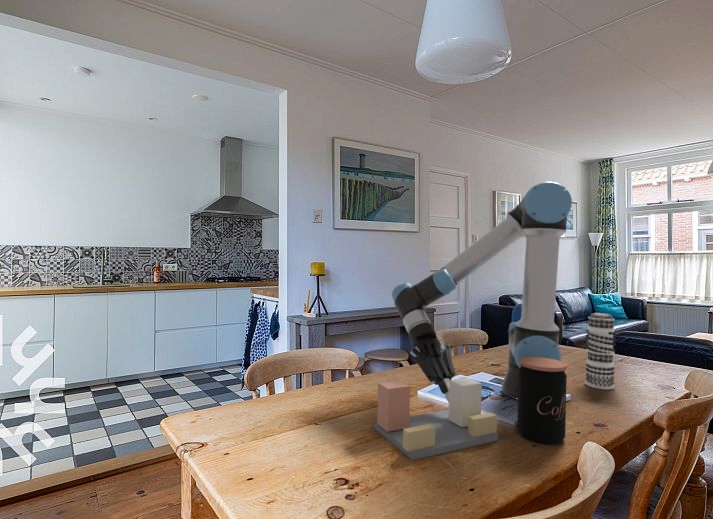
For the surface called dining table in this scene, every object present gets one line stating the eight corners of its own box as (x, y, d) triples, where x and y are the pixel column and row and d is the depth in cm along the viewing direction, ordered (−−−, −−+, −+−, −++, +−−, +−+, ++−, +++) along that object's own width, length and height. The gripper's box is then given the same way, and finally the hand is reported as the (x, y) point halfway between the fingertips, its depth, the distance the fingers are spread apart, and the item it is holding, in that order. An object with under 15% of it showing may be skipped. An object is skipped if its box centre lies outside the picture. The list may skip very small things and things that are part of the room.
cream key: (448, 419, 101) (449, 380, 101) (467, 416, 104) (467, 377, 104) (461, 427, 97) (462, 386, 97) (480, 423, 99) (481, 383, 99)
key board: (372, 428, 99) (372, 406, 99) (452, 414, 110) (453, 394, 110) (410, 460, 84) (410, 434, 84) (499, 440, 94) (500, 416, 94)
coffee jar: (537, 448, 91) (539, 368, 91) (507, 428, 101) (509, 357, 101) (575, 443, 94) (577, 366, 94) (543, 425, 104) (544, 355, 104)
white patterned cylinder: (606, 382, 144) (608, 312, 144) (620, 390, 134) (622, 316, 134) (579, 380, 144) (581, 311, 145) (592, 388, 135) (593, 315, 135)
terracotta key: (377, 423, 98) (378, 382, 98) (398, 419, 100) (399, 380, 100) (387, 431, 93) (388, 388, 93) (409, 427, 96) (410, 386, 96)
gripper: (432, 334, 124) (467, 407, 109) (396, 337, 118) (427, 414, 103) (443, 320, 119) (481, 393, 104) (406, 322, 114) (441, 400, 98)
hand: (454, 403), depth 104 cm, fingers closed
